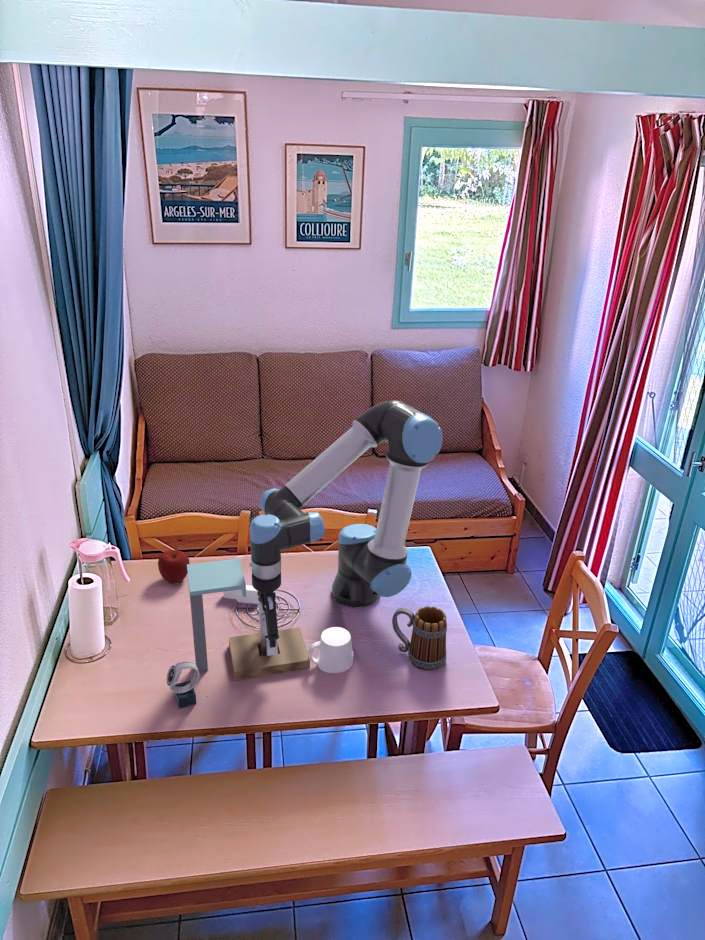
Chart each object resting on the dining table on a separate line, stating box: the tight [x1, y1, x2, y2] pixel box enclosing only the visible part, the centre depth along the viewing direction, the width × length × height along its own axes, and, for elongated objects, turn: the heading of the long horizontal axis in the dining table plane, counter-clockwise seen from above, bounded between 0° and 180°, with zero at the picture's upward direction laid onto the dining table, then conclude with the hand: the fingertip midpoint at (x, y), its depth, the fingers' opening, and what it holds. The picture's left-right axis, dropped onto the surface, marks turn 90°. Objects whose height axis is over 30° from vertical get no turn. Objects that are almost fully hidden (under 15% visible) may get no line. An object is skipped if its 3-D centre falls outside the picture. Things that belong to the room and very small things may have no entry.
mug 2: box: [391, 605, 448, 672], centre depth 197 cm, size 16×11×15 cm
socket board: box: [228, 627, 311, 682], centre depth 198 cm, size 20×14×3 cm
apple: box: [157, 549, 190, 585], centre depth 227 cm, size 10×10×10 cm
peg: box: [259, 612, 267, 657], centre depth 196 cm, size 4×4×14 cm
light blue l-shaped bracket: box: [187, 558, 247, 673], centre depth 189 cm, size 14×12×29 cm
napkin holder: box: [222, 584, 260, 605], centre depth 221 cm, size 15×11×6 cm
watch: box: [166, 661, 201, 709], centre depth 181 cm, size 6×8×11 cm
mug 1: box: [308, 626, 354, 674], centre depth 195 cm, size 12×9×8 cm
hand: (268, 637), depth 196 cm, fingers open, 13 cm apart
